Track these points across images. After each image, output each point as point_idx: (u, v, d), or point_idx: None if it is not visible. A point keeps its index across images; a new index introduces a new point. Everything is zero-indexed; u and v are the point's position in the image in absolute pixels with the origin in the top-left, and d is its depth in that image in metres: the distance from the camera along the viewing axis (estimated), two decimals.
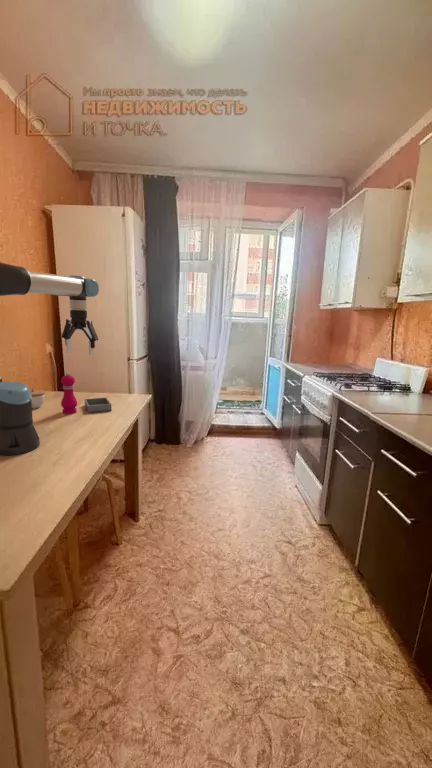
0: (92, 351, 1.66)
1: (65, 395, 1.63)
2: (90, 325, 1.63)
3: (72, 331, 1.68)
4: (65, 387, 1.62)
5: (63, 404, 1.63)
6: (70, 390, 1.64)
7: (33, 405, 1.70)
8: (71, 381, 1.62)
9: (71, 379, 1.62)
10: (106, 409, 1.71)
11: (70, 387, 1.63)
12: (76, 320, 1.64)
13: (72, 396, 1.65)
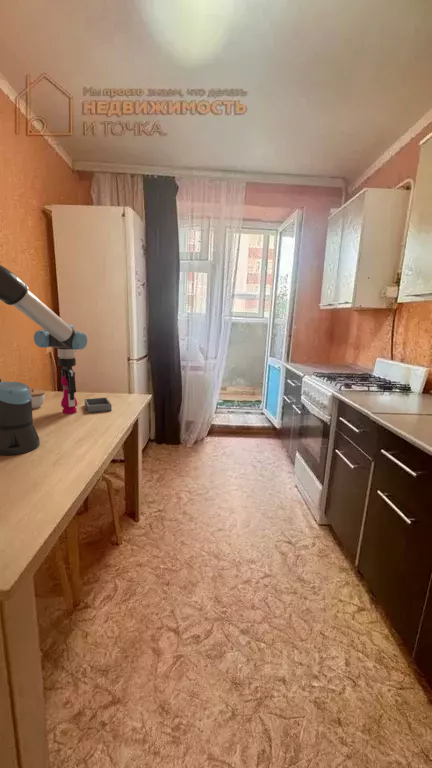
0: (72, 403, 1.63)
1: (65, 395, 1.63)
2: (71, 377, 1.58)
3: None
4: (65, 387, 1.62)
5: (63, 404, 1.63)
6: None
7: (33, 405, 1.70)
8: None
9: None
10: (106, 409, 1.71)
11: None
12: (64, 368, 1.62)
13: None
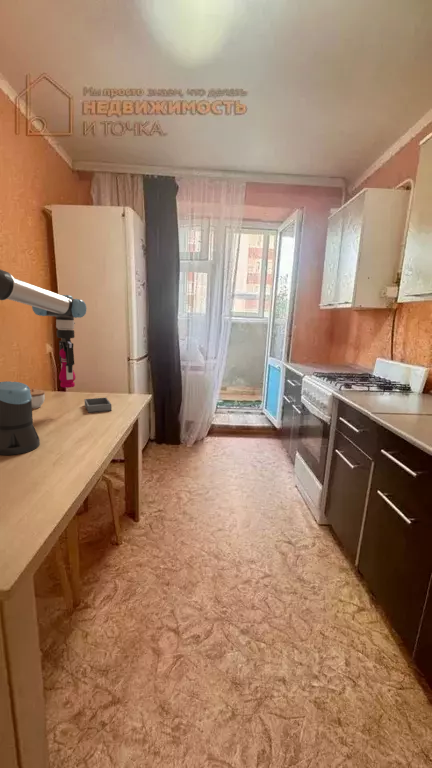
0: (70, 375, 1.60)
1: (63, 368, 1.60)
2: (69, 348, 1.55)
3: None
4: (63, 359, 1.59)
5: (61, 377, 1.60)
6: None
7: (33, 405, 1.70)
8: None
9: None
10: (106, 409, 1.71)
11: None
12: (63, 340, 1.59)
13: None
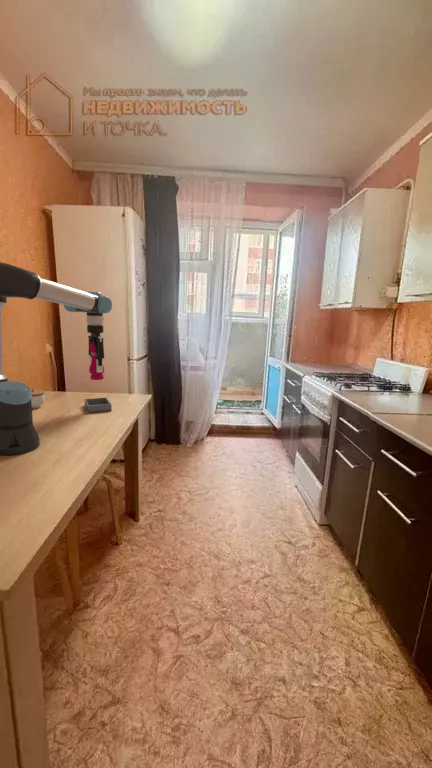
0: (100, 368, 1.68)
1: (93, 361, 1.69)
2: (100, 343, 1.64)
3: None
4: (93, 353, 1.68)
5: (91, 370, 1.68)
6: None
7: (33, 405, 1.70)
8: None
9: None
10: (106, 409, 1.71)
11: None
12: (92, 335, 1.68)
13: None
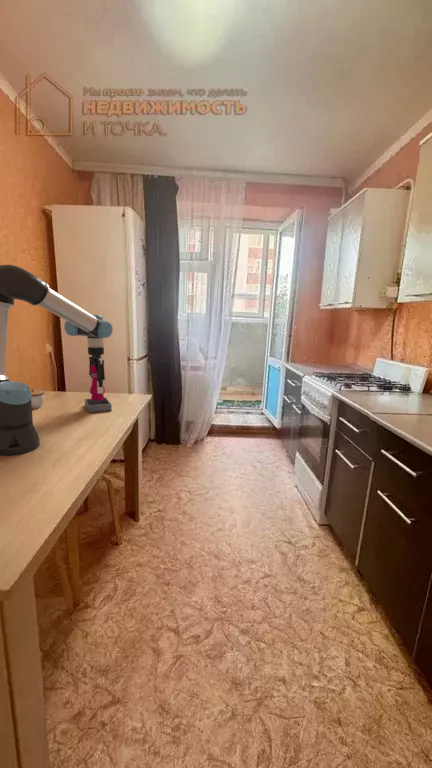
0: (101, 390, 1.71)
1: (94, 382, 1.71)
2: (100, 365, 1.66)
3: None
4: (94, 375, 1.70)
5: (92, 391, 1.71)
6: None
7: (33, 405, 1.70)
8: None
9: None
10: (106, 409, 1.71)
11: None
12: (93, 356, 1.70)
13: None
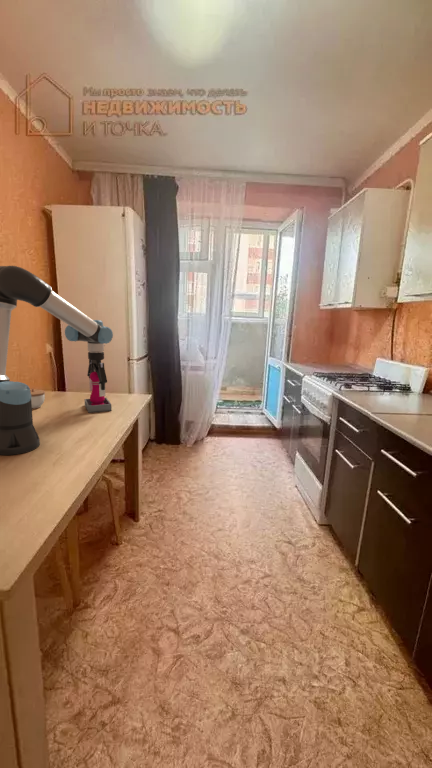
0: (103, 392, 1.69)
1: (94, 390, 1.72)
2: (101, 368, 1.66)
3: (93, 371, 1.75)
4: (94, 382, 1.71)
5: (92, 399, 1.72)
6: (98, 385, 1.72)
7: (33, 405, 1.70)
8: None
9: None
10: (106, 409, 1.71)
11: (98, 382, 1.71)
12: (93, 361, 1.70)
13: None
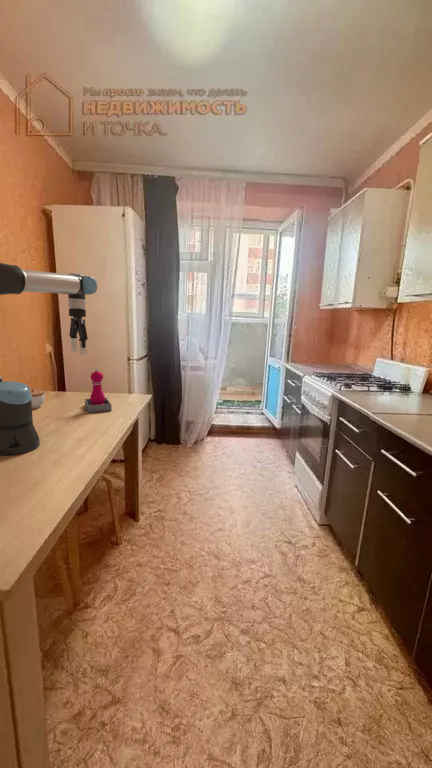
0: (83, 351, 1.60)
1: (94, 390, 1.72)
2: (81, 324, 1.57)
3: (74, 330, 1.67)
4: (94, 383, 1.71)
5: (92, 399, 1.72)
6: (99, 386, 1.72)
7: (33, 405, 1.70)
8: (100, 377, 1.71)
9: (100, 375, 1.71)
10: (106, 409, 1.71)
11: (99, 383, 1.71)
12: (74, 319, 1.62)
13: (100, 391, 1.73)
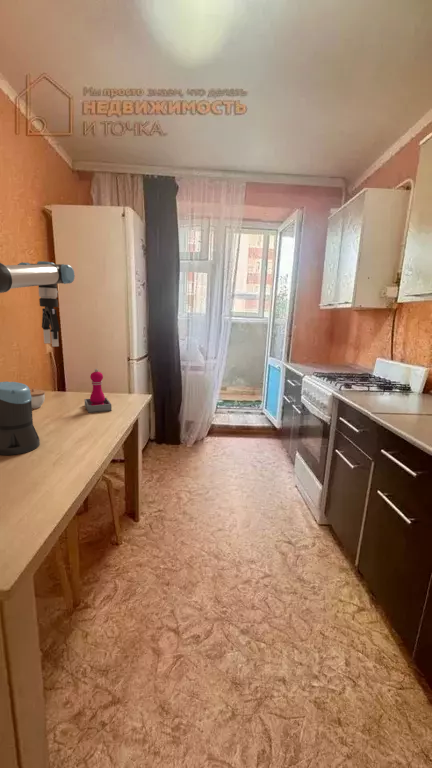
0: (56, 342, 1.54)
1: (94, 390, 1.72)
2: (52, 314, 1.51)
3: (47, 321, 1.60)
4: (94, 383, 1.71)
5: (92, 399, 1.72)
6: (99, 386, 1.72)
7: (33, 405, 1.70)
8: (100, 377, 1.71)
9: (100, 375, 1.71)
10: (106, 409, 1.71)
11: (99, 383, 1.71)
12: (46, 309, 1.56)
13: (100, 391, 1.73)
